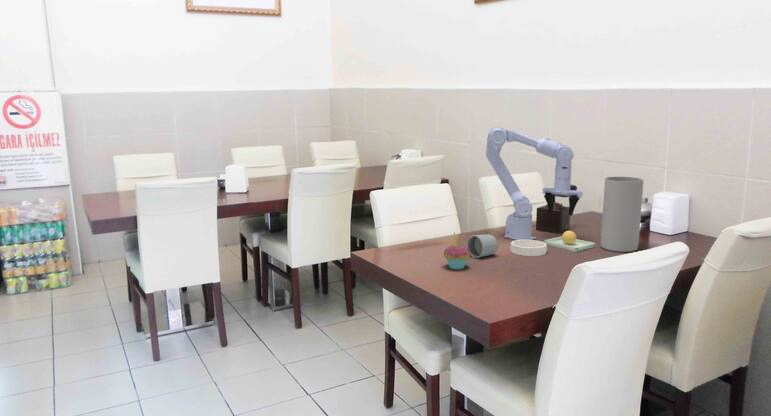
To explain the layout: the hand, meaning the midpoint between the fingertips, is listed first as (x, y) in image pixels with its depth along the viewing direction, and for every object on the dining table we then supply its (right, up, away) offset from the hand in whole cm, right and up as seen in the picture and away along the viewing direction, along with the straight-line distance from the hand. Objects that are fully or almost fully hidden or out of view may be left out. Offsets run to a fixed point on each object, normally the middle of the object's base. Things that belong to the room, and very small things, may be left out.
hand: (560, 214), depth 218 cm
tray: (+1, -12, -7) cm, 14 cm away
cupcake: (-44, -17, -33) cm, 57 cm away
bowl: (-16, -13, -15) cm, 25 cm away
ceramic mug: (-34, -14, -19) cm, 41 cm away
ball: (+1, -9, -8) cm, 12 cm away
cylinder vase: (+17, -12, -11) cm, 24 cm away
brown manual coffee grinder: (+4, -7, +20) cm, 21 cm away
